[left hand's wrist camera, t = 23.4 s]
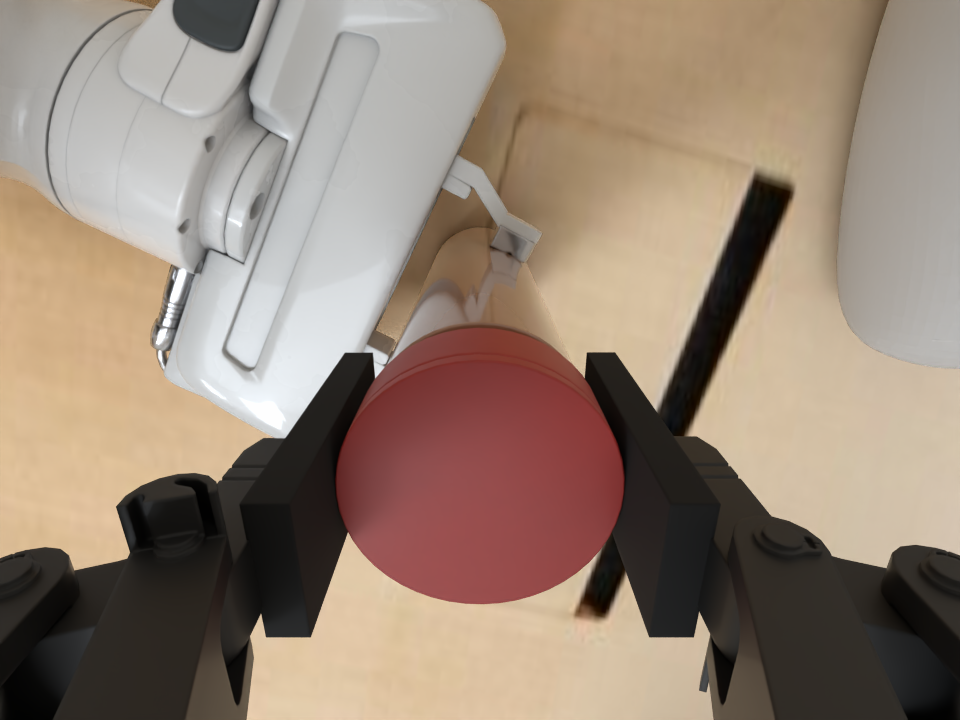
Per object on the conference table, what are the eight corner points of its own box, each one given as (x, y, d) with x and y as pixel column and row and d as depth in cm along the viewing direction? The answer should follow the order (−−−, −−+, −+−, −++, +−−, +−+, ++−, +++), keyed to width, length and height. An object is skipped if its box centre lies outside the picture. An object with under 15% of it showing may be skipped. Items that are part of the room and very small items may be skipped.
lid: (307, 446, 12) (275, 498, 10) (476, 271, 11) (475, 295, 9) (483, 578, 13) (483, 644, 12) (653, 440, 12) (685, 491, 10)
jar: (418, 299, 30) (323, 519, 12) (453, 211, 28) (406, 307, 10) (503, 334, 31) (539, 591, 12) (543, 250, 29) (651, 406, 11)
